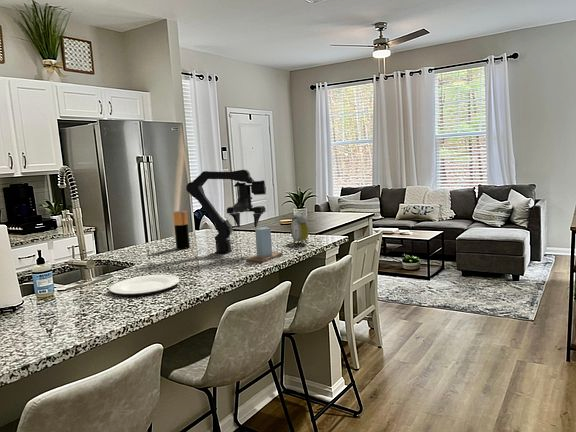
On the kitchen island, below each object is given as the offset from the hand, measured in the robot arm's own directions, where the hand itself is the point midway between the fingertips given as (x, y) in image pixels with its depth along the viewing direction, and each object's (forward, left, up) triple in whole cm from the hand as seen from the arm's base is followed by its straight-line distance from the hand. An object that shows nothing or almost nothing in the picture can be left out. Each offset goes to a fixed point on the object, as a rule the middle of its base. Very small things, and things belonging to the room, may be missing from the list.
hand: (247, 227), depth 222 cm
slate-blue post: (+15, -13, -11) cm, 23 cm away
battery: (-41, +3, -12) cm, 43 cm away
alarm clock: (+19, +23, -12) cm, 32 cm away
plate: (-9, -65, -12) cm, 67 cm away
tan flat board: (+15, -13, -12) cm, 23 cm away
